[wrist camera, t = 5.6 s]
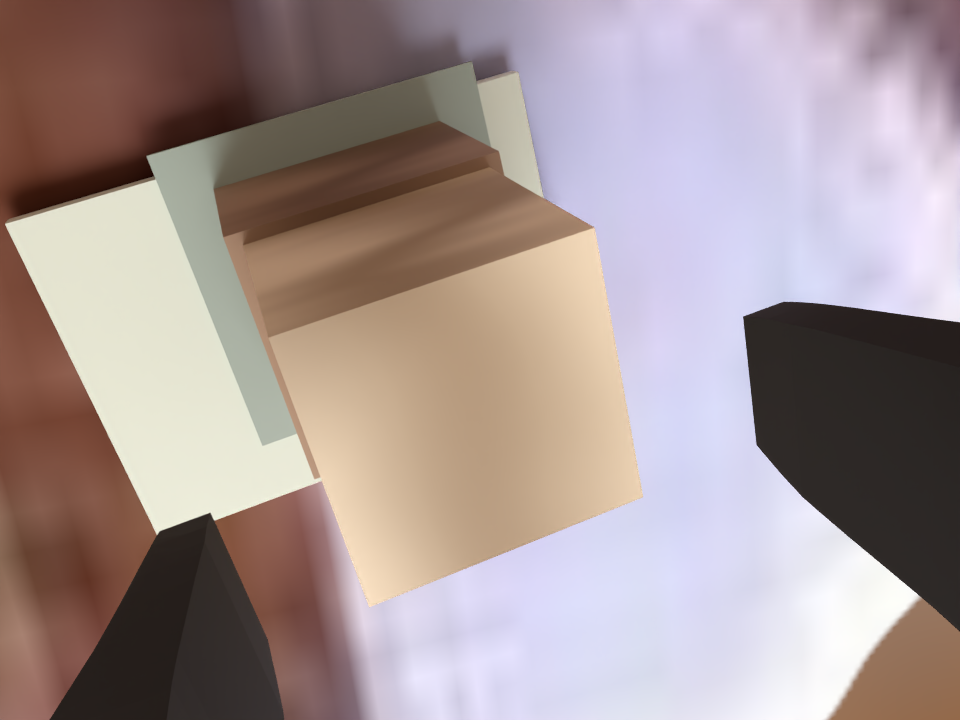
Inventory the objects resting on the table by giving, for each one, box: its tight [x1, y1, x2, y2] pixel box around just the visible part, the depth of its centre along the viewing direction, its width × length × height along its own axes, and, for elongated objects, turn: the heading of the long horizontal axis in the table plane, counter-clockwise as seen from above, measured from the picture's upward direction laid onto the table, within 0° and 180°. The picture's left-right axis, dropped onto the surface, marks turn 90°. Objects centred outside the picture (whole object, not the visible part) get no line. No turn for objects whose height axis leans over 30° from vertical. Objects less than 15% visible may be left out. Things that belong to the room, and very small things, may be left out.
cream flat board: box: [5, 61, 544, 535], centre depth 20 cm, size 11×8×1 cm
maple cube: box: [243, 167, 643, 607], centre depth 15 cm, size 4×4×4 cm
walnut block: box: [213, 121, 504, 479], centre depth 18 cm, size 5×5×4 cm
